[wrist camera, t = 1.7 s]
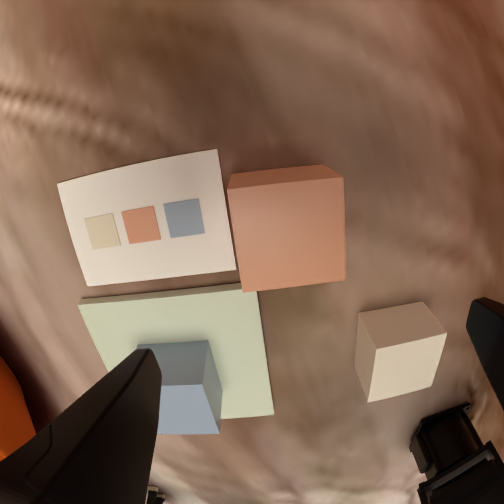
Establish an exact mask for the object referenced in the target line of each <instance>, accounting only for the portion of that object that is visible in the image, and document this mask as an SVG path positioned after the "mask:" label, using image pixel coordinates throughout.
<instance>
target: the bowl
mask: <svg viewBox="0 0 504 504" xmlns="http://www.w3.org/2000/svg"><path fill="white" fill-rule="evenodd" d="M35 435H36V433H35V429H34V426H33V423H32V420H31V417H30V415H29V412H28V409H27V406H26V403H25V399H24V395H23V391H22V389H21V387H20V384H19V382H18V381H17V379H16V377H15V376H14V374H13V372H12V371H11V369H10V368H9V367H8V365H7V364H6V363H5V361H4V360H3V359H2V357H1V356H0V461H1V460H3V459H4V458H6V457H7V456H9V455H10V454H11V453H13V452H14V451H16V450H17V449H18V448H20V447H21V446H22V445H24V444H25V443H26V442H28V441H29V440H30V439H31V438H33V437H34V436H35Z"/></svg>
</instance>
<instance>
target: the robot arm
mask: <svg viewBox="0 0 504 504" xmlns="http://www.w3.org/2000/svg"><path fill="white" fill-rule="evenodd" d="M466 328H467V332H468V334H469V336H470V339H471V341H472V343H473V345H474V348H475V350H476V352H477V355H478V357H479V360H480V362H481V365H482V367H483V369H484V371H485V374H486V376H487V378H488V380H489V382H490V384H491V386H492V388H493V390H494V392H495V394H496V396H497V398H498V400H499V402H500V404H501V406H502V408H503V411H504V304H502V303H499V302H496V301H494V300H491V299H488V298H486V297H481V298H478V299H474V300H473V301H472V303H471V306H470V310H469V314H468V318H467V322H466ZM161 384H162V373H161V369H160V367H159V364H158V362H157V359H156V357H155V354H154V352H153V350H152V349H150V348H138V349H136V350H134V351H133V352H132V353H131V354H130V355H128V356H127V357H126V358H125V359H124V360H123V361H121V362H120V363H119V364H118V365H117V366H116V367H114V368H113V369H112V370H111V371H110V372H109V373H107V374H106V375H105V376H104V377H103V378H102V379H100V380H99V381H98V382H97V383H96V384H95V385H94V386H92V387H91V388H90V389H89V390H88V391H87V392H85V393H84V394H83V395H82V396H81V397H80V398H78V399H77V400H76V401H75V402H74V403H73V404H71V405H70V406H69V407H68V408H67V409H66V410H64V411H63V412H62V413H61V414H60V415H59V416H57V417H56V418H55V419H54V420H53V421H52V422H51V424H48V425H47V426H46V427H44V428H43V429H42V430H41V431H40V432H39V433H37V434H36V435H35V436H34V437H33V438H31V439H30V440H29V441H28V442H26V443H25V444H24V445H22V446H21V447H20V448H18V449H17V450H16V451H14V452H13V453H11V454H10V455H9V456H7V457H6V458H4V459H3V460H1V461H0V504H145V501H146V494H147V488H148V482H149V476H150V470H151V464H152V458H153V453H154V447H155V442H156V436H157V431H158V423H159V410H160V397H161ZM470 408H471V405H470V403H467V404H465V405H462V406H459V407H457V408H454V409H451V410H448V411H446V412H443V413H440V414H437V415H434V416H431V417H428V418H425V419H423V420H422V421H421V423H420V425H419V427H418V430H417V432H416V434H415V437H414V439H413V441H412V444H411V446H410V448H409V450H410V452H412V453H413V455H414V458H415V460H416V463H417V466H418V468H419V471H420V473H422V474H423V473H425V475H426V478H427V481H425V482H422V483H420V484H419V489H418V490H417V491H418V494H419V497H420V501H421V504H504V463H503V461H502V460H501V458H500V456H499V454H498V453H497V451H496V449H495V447H494V446H493V444H492V442H491V441H488V442H487V443H486V444H485V445H483V443H482V441H481V439H480V438H479V436H478V434H477V432H476V430H475V428H474V426H473V425H472V423H471V421H470V419H469V417H468V416H467V414H468V412H469V410H470ZM490 458H491V459H490ZM489 459H490V460H489ZM488 460H489V461H488Z"/></svg>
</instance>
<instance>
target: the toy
mask: <svg viewBox="0 0 504 504" xmlns="http://www.w3.org/2000/svg"><path fill="white" fill-rule="evenodd" d="M147 489H148V490H149V491H148V498H147V504H163V502H164V501H165V494H158V487H154V486H148V488H147ZM155 499H156V500H155Z"/></svg>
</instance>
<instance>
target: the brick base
mask: <svg viewBox="0 0 504 504" xmlns="http://www.w3.org/2000/svg"><path fill="white" fill-rule="evenodd" d="M138 348H150V349H152V350H153V352H154V354H155V357H156V359H157V362H158V364H159V367H160V369H161V373H162V384H161V397H160V410H159V423H158V431H157V434H220V423H221V408H222V394H223V390H222V387H221V383H220V380H219V376H218V373H217V369H216V366H215V362H214V359H213V355H212V351H211V348H210V344H209V340H204V341H191V342H176V343H160V344H139V345H137V348H136V349H138Z"/></svg>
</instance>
